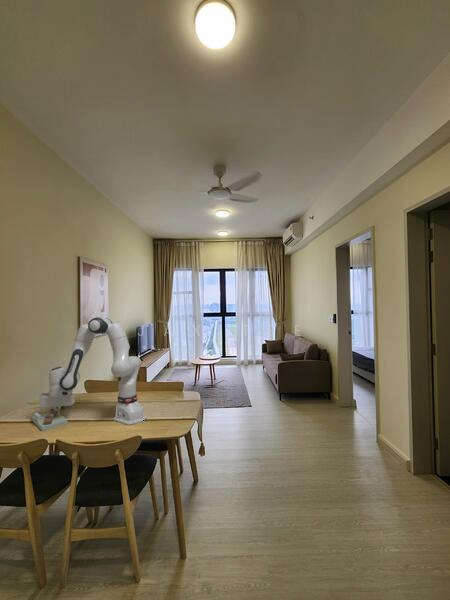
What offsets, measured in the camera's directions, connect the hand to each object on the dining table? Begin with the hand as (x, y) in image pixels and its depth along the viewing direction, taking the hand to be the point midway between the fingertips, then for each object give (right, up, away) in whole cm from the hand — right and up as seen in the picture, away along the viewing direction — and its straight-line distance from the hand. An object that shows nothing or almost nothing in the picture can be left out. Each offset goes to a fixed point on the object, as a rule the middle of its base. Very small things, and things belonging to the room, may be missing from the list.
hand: (57, 413), depth 188 cm
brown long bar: (-1, -1, -6) cm, 6 cm away
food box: (-3, -4, -4) cm, 6 cm away
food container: (-10, -5, +22) cm, 25 cm away
